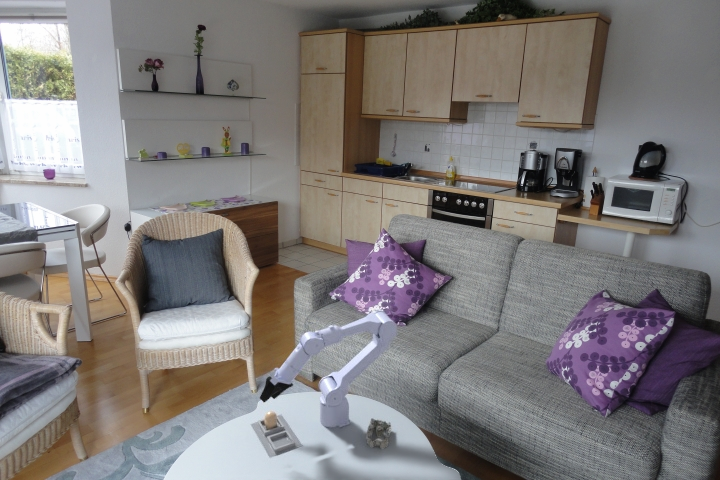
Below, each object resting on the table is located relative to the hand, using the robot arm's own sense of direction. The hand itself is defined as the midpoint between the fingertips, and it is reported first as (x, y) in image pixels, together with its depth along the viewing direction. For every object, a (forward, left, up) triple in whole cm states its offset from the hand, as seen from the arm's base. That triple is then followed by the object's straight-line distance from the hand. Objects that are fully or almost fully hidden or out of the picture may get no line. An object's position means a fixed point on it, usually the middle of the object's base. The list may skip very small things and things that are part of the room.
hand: (267, 398), depth 152 cm
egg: (-2, -2, -13) cm, 13 cm away
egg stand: (-2, +2, -14) cm, 14 cm away
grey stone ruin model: (-31, +18, -14) cm, 39 cm away
